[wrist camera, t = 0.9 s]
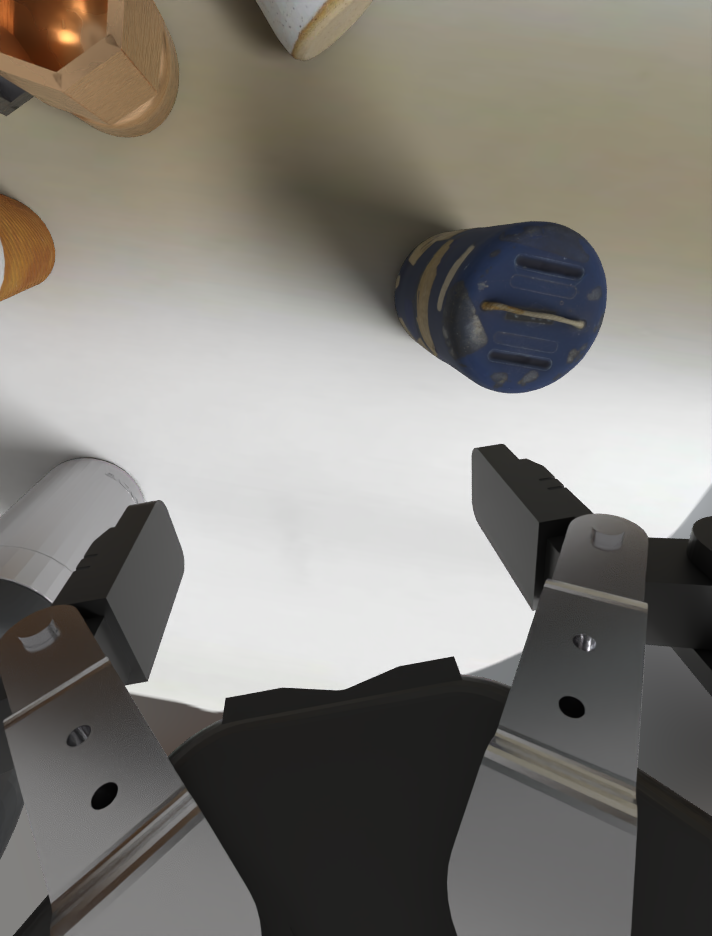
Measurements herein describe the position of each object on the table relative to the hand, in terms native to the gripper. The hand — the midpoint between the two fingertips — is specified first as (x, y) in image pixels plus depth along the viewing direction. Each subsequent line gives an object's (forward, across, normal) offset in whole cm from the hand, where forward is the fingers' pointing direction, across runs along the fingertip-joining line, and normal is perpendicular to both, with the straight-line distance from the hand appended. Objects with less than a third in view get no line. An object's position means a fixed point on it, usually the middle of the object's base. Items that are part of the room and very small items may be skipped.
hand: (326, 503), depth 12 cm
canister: (+32, +12, 0) cm, 34 cm away
